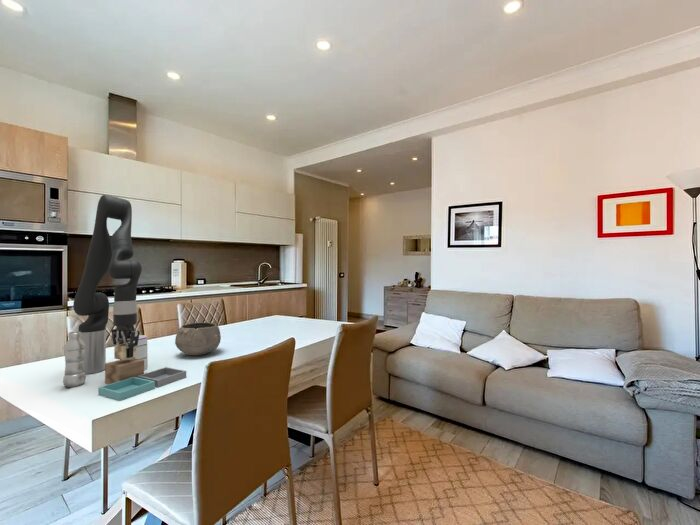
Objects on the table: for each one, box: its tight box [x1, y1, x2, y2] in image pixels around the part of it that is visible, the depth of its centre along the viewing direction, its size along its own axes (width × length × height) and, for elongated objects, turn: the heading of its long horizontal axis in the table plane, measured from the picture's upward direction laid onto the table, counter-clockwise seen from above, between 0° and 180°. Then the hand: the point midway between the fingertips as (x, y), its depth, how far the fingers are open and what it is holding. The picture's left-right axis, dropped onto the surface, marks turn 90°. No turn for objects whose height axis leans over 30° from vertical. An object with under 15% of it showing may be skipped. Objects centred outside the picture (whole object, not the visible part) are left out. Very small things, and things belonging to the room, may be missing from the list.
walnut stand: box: [104, 358, 145, 385], centre depth 126 cm, size 9×9×8 cm
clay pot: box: [174, 322, 222, 356], centre depth 167 cm, size 21×21×15 cm
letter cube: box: [113, 343, 136, 360], centre depth 126 cm, size 5×5×5 cm
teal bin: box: [97, 377, 156, 402], centre depth 116 cm, size 12×12×3 cm
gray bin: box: [137, 366, 187, 388], centre depth 127 cm, size 12×12×3 cm
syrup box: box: [127, 334, 149, 370], centre depth 142 cm, size 6×6×14 cm
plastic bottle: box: [62, 331, 86, 388], centre depth 123 cm, size 6×7×20 cm
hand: (125, 356), depth 126 cm, fingers closed on letter cube, 4 cm apart
